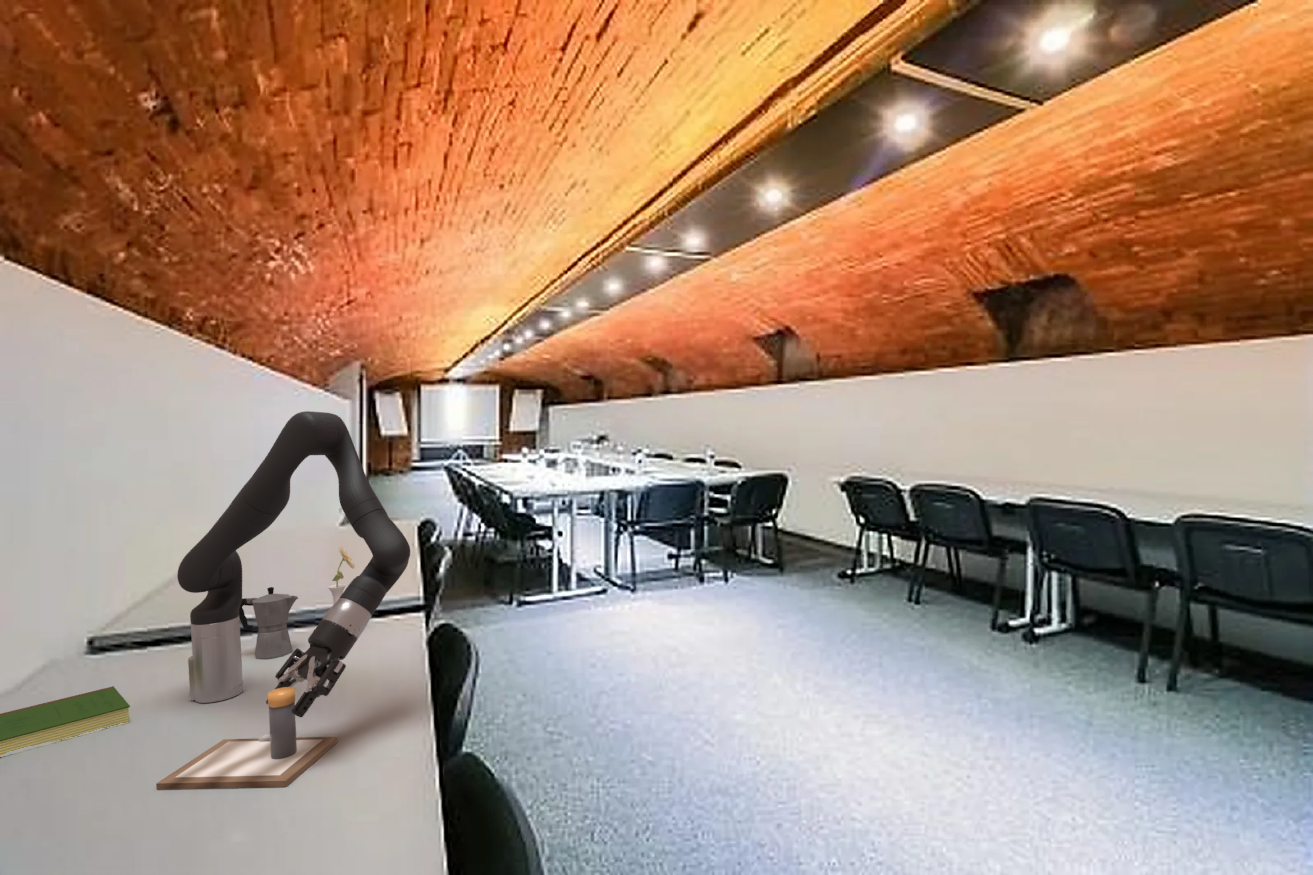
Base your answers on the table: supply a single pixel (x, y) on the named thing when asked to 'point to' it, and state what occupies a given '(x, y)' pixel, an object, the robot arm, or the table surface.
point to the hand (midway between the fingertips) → (283, 710)
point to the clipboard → (246, 764)
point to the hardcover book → (62, 719)
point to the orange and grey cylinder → (282, 722)
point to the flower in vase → (338, 588)
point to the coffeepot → (270, 623)
